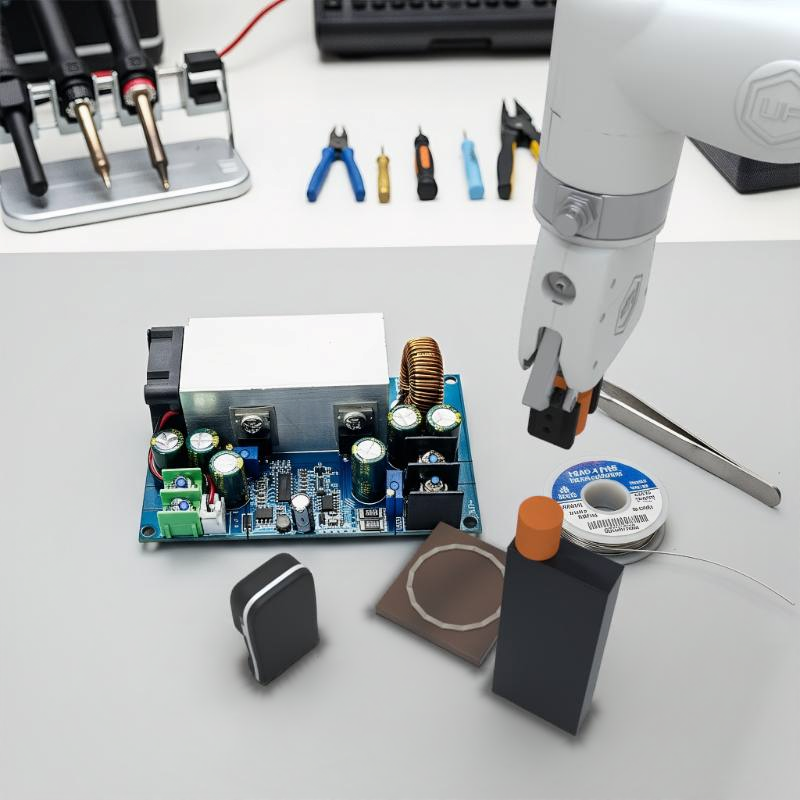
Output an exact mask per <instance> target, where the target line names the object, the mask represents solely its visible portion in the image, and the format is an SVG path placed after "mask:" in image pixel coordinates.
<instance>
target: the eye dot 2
mask: <svg viewBox="0 0 800 800" xmlns="http://www.w3.org/2000/svg"><path fill="white" fill-rule="evenodd" d="M553 385H555V386H557V387H560V388H562V389H564V390H566V387H567V384H566V381H565V378H562V377H560V376H557V375H556V376H555V379H554V382H553ZM592 390H593V388H592V389H590V390H588V391H586V392H583V393H581V392H578V397H577V402H579V403H581V408H580V413H579V419H578V424H577V429H576V434H575V437H577V436H579V435H581V434H582V433H583V432H584V430H585V428H586V426H587V422H588V421H587V420H588V415H589V414H588V411H589V405H590V400H591V395H592Z"/></svg>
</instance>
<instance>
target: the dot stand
mask: <svg viewBox="0 0 800 800" xmlns="http://www.w3.org/2000/svg"><path fill="white" fill-rule="evenodd" d="M515 537H516V534H515V535H514V537H513V538H512V540H511V541H510V542H509V544H508V546H507V547H506V552H507V554H506V563H505V573H504V582H503V591H502V600H501V609H500V618H499V628H498V637H497V640H496V647H495V655H494V665H493V673H492V674H493V675H492V684H491V692H493V693H494V694H497V695H498V696H500V697H502V698H504V699H505V700H507V701H509V702H511V703H513V704H515V705H517V706H518V707H521V708H522V709H524V710H526V711H528V712H530V713H532V714H534V715H535V716H537V717H539V718H541V719H542V720H544V721H546V722H548V723H550V724H551V725H553V726H555V727H558V728H560V729H561V730H563V731H565V732H567V733H569V734H571V735H573V736H577V734H578V733H579V730H580V728H581V727H582V725H583V722H584V721H585V719H586V717H587V715H588V713H589V712H590V709H591V707H592V702H593V698H594V695H595V690H596V687H597V681H598V677H599V673H600V669H601V665H602V662H603V657H604V653H605V649H606V645H607V640H608V637H609V633H610V629H611V625H612V620H613V616H614V612H615V608H616V604H617V599H618V596H619V591H620V588H621V584H622V579H623V575H624V571H625V568H626V567H625V565H623V564H621V563H620V562H617V561H615V560H612V559H610V558H608V557H606V556H603V555H602V554H599V553H597V552H595V551H592V550H590V549H588V548H586V547H584V546H582V545H580V544H577V543H575V542H572V541H570V540H568V539H567V538H564V537H562V536H560V542H559V548H558V551H557V552H556V554H555V555H554V556H552V557H551V558H549V559H546V560H539V561H538V560H532V559H529V558H526V557H525V556H523V555H522V554H521V553H520V552H519V551H518V550H517V548H516V545H515Z"/></svg>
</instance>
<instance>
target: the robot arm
mask: <svg viewBox="0 0 800 800" xmlns="http://www.w3.org/2000/svg"><path fill="white" fill-rule="evenodd" d="M551 39H552V40H551V47H550V56H549V65H548V73H547V81H546V90H545V100H544V107H543V115H542V123H541V130H540V131H541V132H540V139H539V147H538V155H537V162H536V163H537V164H536V170H535V171H536V172H535V179H534V180H535V181H534V189H533V197H532V198H533V199H532V206H531V207H532V213H533V216H534V218H535V219H536V221H537V223H539V225H540V228H539V232H538V236H537V240H536V244H535V247H534V248H535V249H534V253H533V256H532V263H531V267H530V272H529V277H528V282H527V287H526V291H525V298H524V305H523V309H522V314H521V315H522V316H521V321H520V329H519V338H518V351H517V354H518V363H519V365H520V367H521V370H523V371H527V370H528V369H530V368H531V367H532V368H531V371H530V374H529V377H528V380H527V383H526V386H525V390H524V393H523V396H522V400H521V404H522V405H524V406H526V407H529V413H528V420H527V421H528V422H527V427H526V428H527V429H526V431H527V433H528V435H530V436H531V437H534V438H536V439H538V440H541V441H544V442H545V443H548V444H551V445H553V446H556V447H558V448H560V449H563V450H566V451H569V450H570V449H571V448H572V447H573V445H574V444H575V439H576V436H575V434H576V429H577V424H578V419H579V413H580V408H581V403H579V402H577V397H578V392H581V393H583V392H586V391H588V390H590V389H592V388H593V390H592V395H591V400H590V405H589V411H588V415H593V414H594V413H595V412H596V410H597V408H598V406H599V405H598V404H599V401H600V396H601V391H602V390H601V389H602V386H603V381H604V377H605V374H606V372H607V371H608V369H609V368H610V366H611V365H612V363H613V362H614V360H615V359H616V358H617V357H618V355H619V353H620V352H621V350H622V348H623V347H624V346H625V344H626V343H627V341H628V340H629V338H630V336H631V334H632V333H633V332H634V330H635V328H636V327H637V325H638V323H639V322H640V320H641V317H642V315H643V312H644V308H645V304H646V299H647V293H648V287H649V282H650V276H651V270H652V265H653V260H654V259H653V258H654V252H655V247H656V240H657V236H658V235H659V234H660V233H661V232H662V230H663V229H664V227H665V225H666V221H667V216H668V212H669V208H670V204H671V198H672V195H673V190H674V186H675V183H676V177H677V174H678V173H677V172H678V170H679V169H678V168H679V165H680V161H681V156H682V151H683V147H684V143H685V138H686V137H689V138H691V139H695V140H696V141H699V142H702V143H705V144H708V145H710V146H712V147H715V148H718V149H720V150H723V151H726V152H729V153H731V154H735V155H738V156H740V157H744V158H747V159H751V160H754V161H759V162H764V163H770V164H798V163H800V0H556V5H555V12H554V21H553V30H552V38H551ZM556 375H557V376H560V377H562V378H565V381H566V384H567V387H566V390H564V389H562V388H560V387H557V386H555V385H553V382H554V379H555V376H556Z"/></svg>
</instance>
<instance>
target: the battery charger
mask: <svg viewBox="0 0 800 800" xmlns="http://www.w3.org/2000/svg"><path fill="white" fill-rule="evenodd" d="M229 605H230V610H231V612H230V613H231V617H232V621H233V624H234V627H235V629H236V630H237V631H238V632H239V633H240V634H241V635H242V636H243V638H244V643H245V647H246V650H247V653H248V658H247V666H248V668H249V670H250V672H251V673H252V675H254V677H255V679H256V680H257V681H258V682H260V683H262V684H263V685H267V684H268V683H270V682H271V681H272V680H274V679H275V678H276V677H277V676H279V675H280V674H281V673H283V672H284V671H285V670H286V669H288V668H289V667H290V666H292V664H294V663H295V662H296V661H297V660H299V659H300V658H301V657H303V656H304V655H305V654H306V653H307V652H309V651H310V650H312V648H313V647H315V646H316V645H317V644H318V643H319V642H320V639H321V638H320V635H319V634H320V633H319V625H318V607H317V606H318V603H317V593H316V586H315V579H314V576H313V573H312V572H311V570H310V568H309V567H308V566H306V565H305V564H304V563H302V562H300V561H299V560H298V559H297V558H296V557H295V556H293V555H292V554H290V553H289V552H288V553H287V552H281V553H277V554H276V555H274V556H272V557H271V558H269V559H268V560H267V561H264V562H263V563H262V564H261V565H259V566H258V567H256V568H255V569H254V570H252V571H251V572H250V573H248V574H246V576H244V577H243V578H242V579H240V580H239V581H238V582H237V583H235V585H234V586H233V588H232V589H231V592H230V596H229Z"/></svg>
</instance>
